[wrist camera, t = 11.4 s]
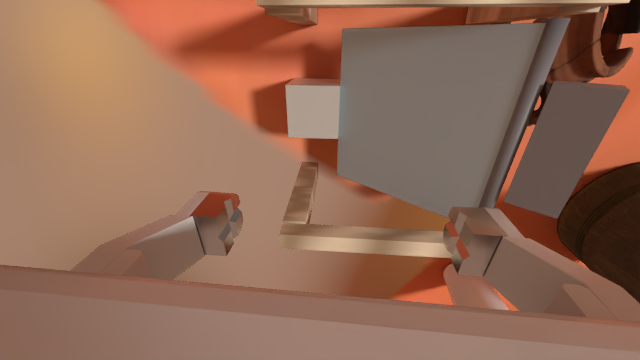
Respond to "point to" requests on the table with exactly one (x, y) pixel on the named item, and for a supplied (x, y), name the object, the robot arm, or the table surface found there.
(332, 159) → the table surface
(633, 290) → the wooden container
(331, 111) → the block
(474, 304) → the tall white cup
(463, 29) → the trapdoor
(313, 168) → the frame
